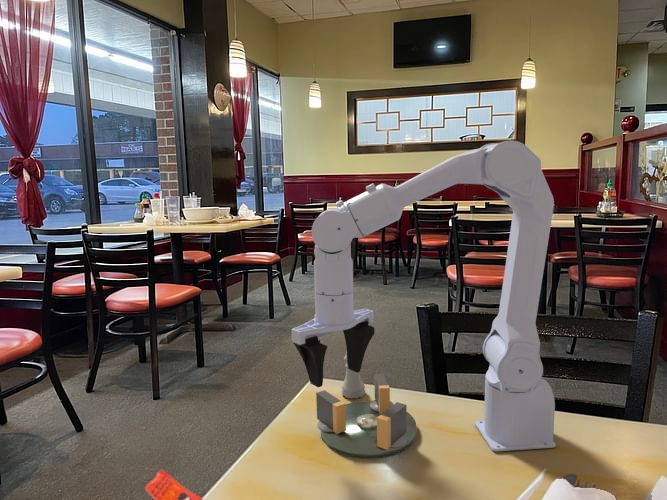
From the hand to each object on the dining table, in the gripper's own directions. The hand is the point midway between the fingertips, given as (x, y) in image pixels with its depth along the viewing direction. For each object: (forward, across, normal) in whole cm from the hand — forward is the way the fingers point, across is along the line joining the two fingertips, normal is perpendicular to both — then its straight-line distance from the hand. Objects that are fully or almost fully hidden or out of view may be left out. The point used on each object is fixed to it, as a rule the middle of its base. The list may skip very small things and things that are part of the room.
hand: (335, 377), depth 76 cm
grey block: (+8, -10, 0) cm, 13 cm away
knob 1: (+8, 0, -1) cm, 8 cm away
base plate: (+10, -4, +2) cm, 11 cm away
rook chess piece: (+10, -11, -9) cm, 17 cm away
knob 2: (+8, -4, +8) cm, 12 cm away
